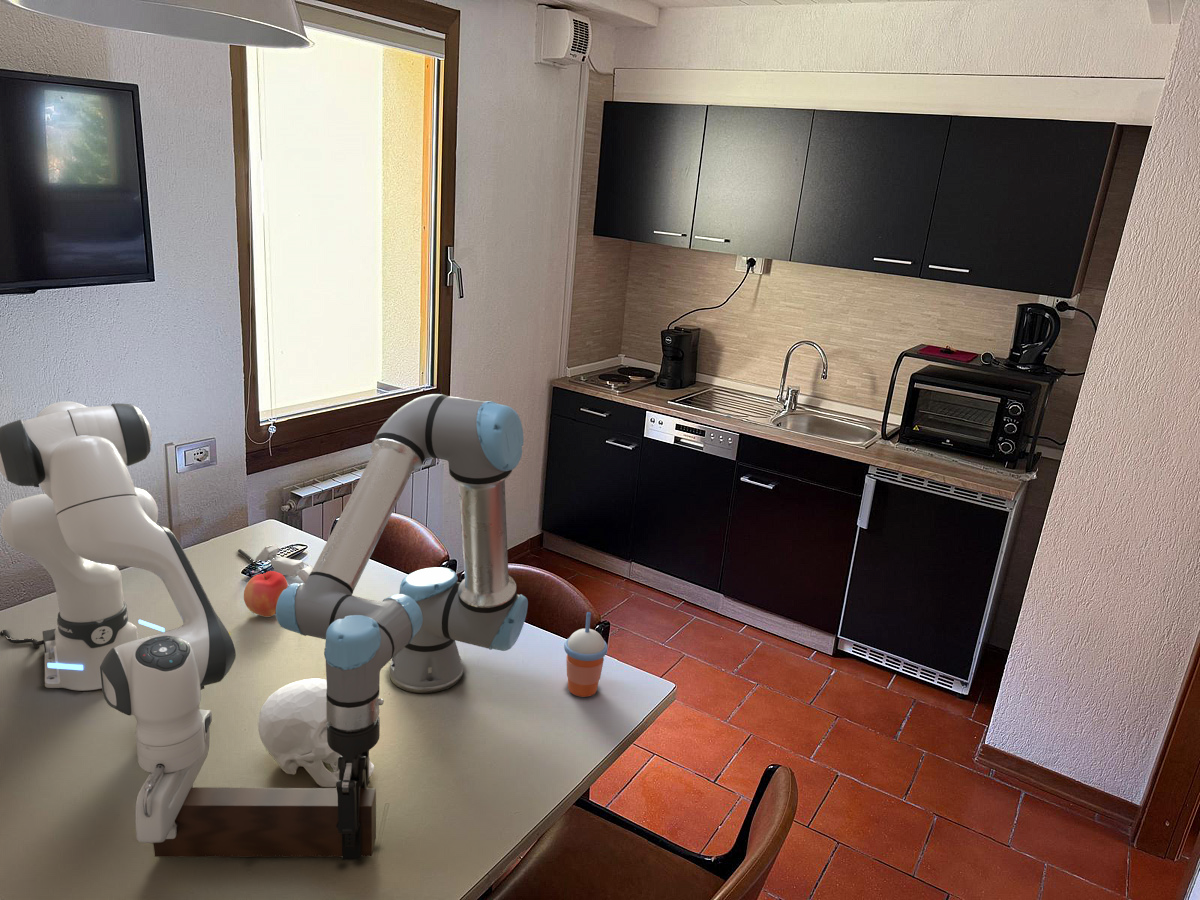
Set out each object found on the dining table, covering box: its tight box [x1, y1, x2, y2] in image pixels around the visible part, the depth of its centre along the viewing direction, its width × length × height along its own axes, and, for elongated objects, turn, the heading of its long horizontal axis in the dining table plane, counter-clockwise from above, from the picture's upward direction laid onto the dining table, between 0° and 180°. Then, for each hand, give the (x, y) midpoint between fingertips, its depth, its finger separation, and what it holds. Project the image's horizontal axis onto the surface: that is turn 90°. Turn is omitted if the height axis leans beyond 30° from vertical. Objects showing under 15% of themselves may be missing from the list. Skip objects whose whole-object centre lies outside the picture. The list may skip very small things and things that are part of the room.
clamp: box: [254, 544, 314, 584], centre depth 219 cm, size 20×4×7 cm, turn 62°
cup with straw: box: [563, 611, 609, 698], centre depth 179 cm, size 9×9×18 cm
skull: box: [257, 677, 375, 788], centre depth 150 cm, size 13×22×16 cm, turn 73°
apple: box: [243, 570, 289, 618], centre depth 199 cm, size 10×10×10 cm
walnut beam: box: [152, 786, 377, 858], centre depth 130 cm, size 32×4×9 cm, turn 95°
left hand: (177, 822), depth 129 cm, fingers closed on walnut beam, 4 cm apart
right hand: (354, 846), depth 133 cm, fingers closed on walnut beam, 4 cm apart
